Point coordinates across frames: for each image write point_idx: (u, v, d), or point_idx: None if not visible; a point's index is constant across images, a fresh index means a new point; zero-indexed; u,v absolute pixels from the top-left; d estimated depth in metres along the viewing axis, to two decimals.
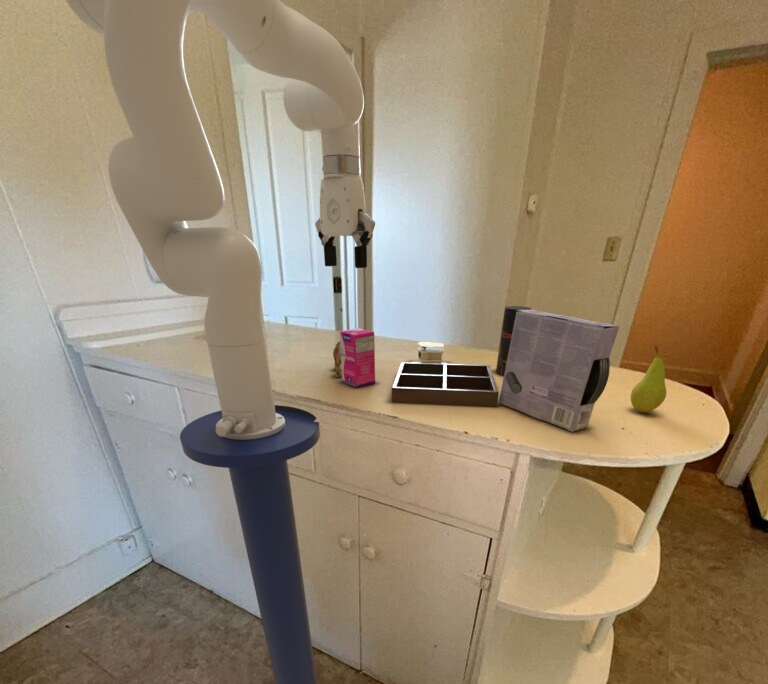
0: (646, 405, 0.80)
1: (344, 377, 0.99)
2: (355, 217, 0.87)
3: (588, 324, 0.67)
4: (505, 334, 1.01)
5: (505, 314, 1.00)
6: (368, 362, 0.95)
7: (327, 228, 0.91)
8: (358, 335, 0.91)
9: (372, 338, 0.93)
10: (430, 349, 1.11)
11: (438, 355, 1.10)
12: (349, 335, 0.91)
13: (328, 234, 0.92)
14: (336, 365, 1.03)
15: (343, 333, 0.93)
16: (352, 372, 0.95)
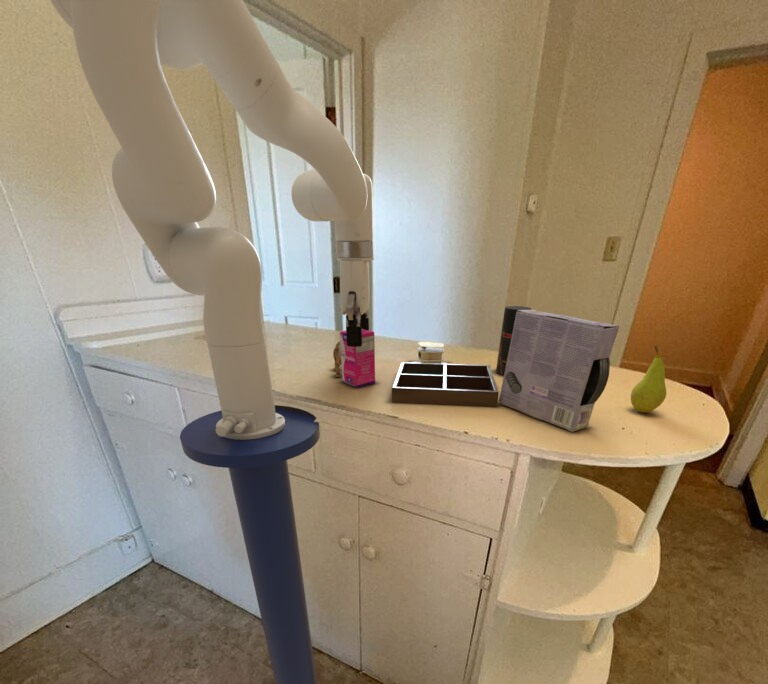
0: (646, 405, 0.80)
1: (344, 377, 0.99)
2: (345, 299, 0.86)
3: (588, 324, 0.67)
4: (505, 334, 1.01)
5: (505, 314, 1.00)
6: (368, 362, 0.96)
7: None
8: None
9: (372, 338, 0.93)
10: (430, 349, 1.11)
11: (438, 355, 1.10)
12: None
13: None
14: (336, 365, 1.03)
15: (343, 333, 0.93)
16: (352, 372, 0.95)
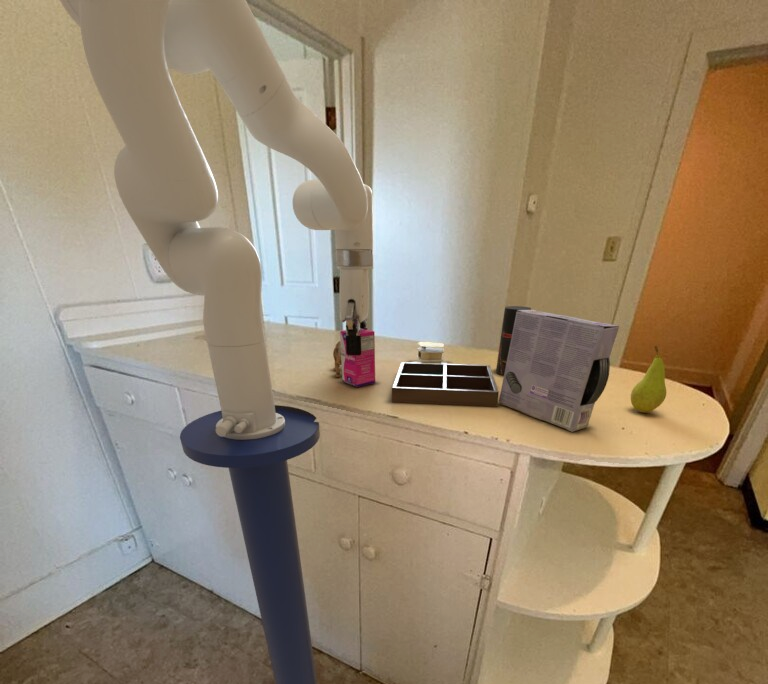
0: (646, 405, 0.80)
1: (344, 377, 0.99)
2: (344, 307, 0.87)
3: (588, 324, 0.67)
4: (505, 334, 1.01)
5: (505, 314, 1.00)
6: (368, 362, 0.96)
7: None
8: None
9: (372, 337, 0.94)
10: (430, 349, 1.11)
11: (438, 355, 1.10)
12: None
13: None
14: (336, 365, 1.03)
15: (343, 332, 0.93)
16: (352, 371, 0.95)
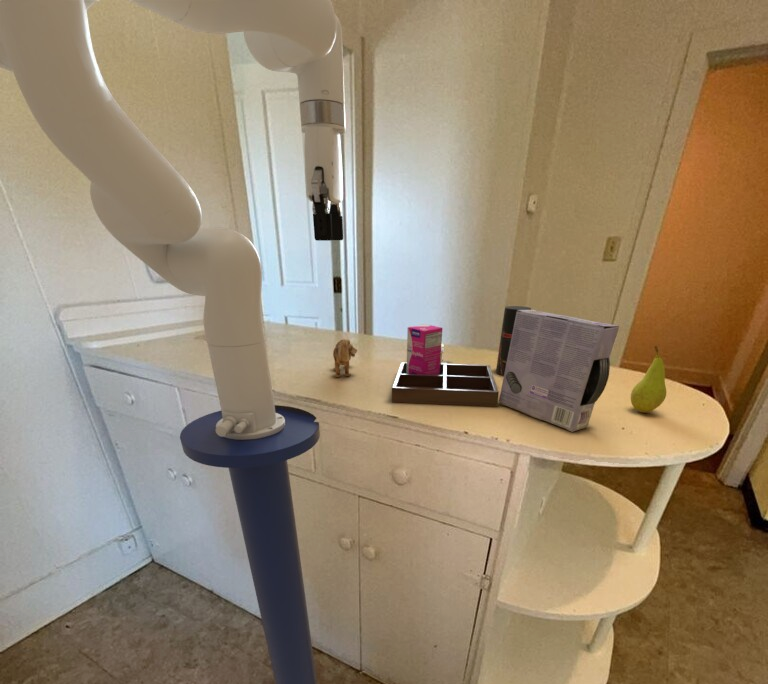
0: (646, 405, 0.80)
1: (409, 373, 0.99)
2: (310, 177, 0.73)
3: (588, 324, 0.67)
4: (505, 334, 1.01)
5: (505, 314, 1.00)
6: (434, 358, 0.96)
7: None
8: (428, 331, 0.92)
9: (440, 334, 0.94)
10: None
11: None
12: (419, 331, 0.92)
13: None
14: (336, 365, 1.03)
15: (412, 329, 0.94)
16: (419, 367, 0.96)
